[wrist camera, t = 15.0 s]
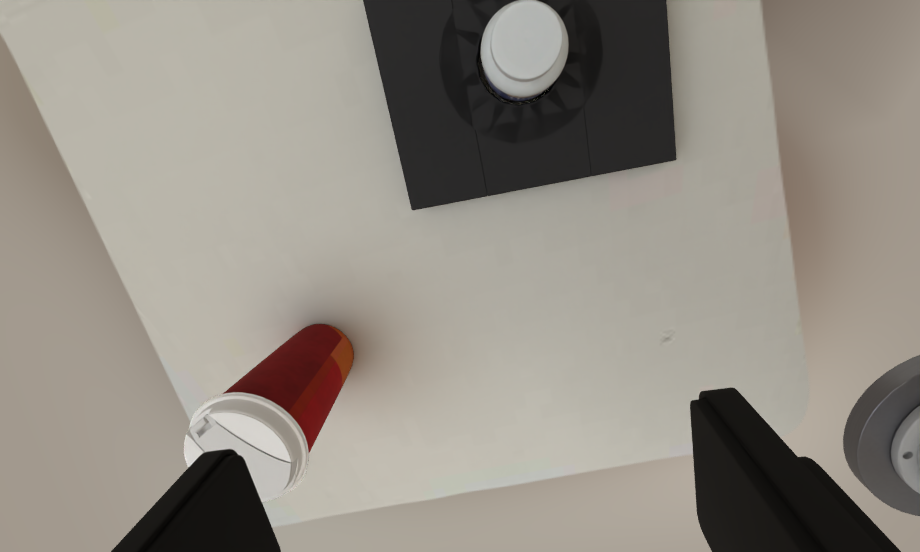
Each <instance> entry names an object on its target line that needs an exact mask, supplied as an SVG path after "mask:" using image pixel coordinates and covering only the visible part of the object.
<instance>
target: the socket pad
mask: <svg viewBox="0 0 920 552" xmlns="http://www.w3.org/2000/svg"><path fill="white" fill-rule="evenodd" d="M514 1H518V0H363V2H364V6H365V10H366V14H367V19H368V23H369V27H370V32H371V36H372V40H373V45H374V49H375V53H376V57H377V62H378V66H379V70H380V75H381V79H382V83H383V88H384V92H385V96H386V100H387V105H388V109H389V113H390V118H391V122H392V126H393V131H394V135H395V139H396V143H397V148H398V152H399V156H400V161H401V165H402V169H403V174H404V178H405V182H406V186H407V191H408V195H409V199H410V204H411V208H412V210H417V209H422V208H427V207H433V206H438V205H443V204H448V203H453V202H459V201H464V200H469V199H474V198H480V197H485V196H487V195H488V196H490V195H496V194H501V193H506V192H511V191H516V190H522V189H527V188H532V187H537V186H543V185H548V184H553V183H558V182H564V181H569V180H574V179H579V178H585V177H590V176H595V175H600V174H606V173H611V172H616V171H621V170H626V169H632V168H637V167H642V166H647V165H653V164H658V163H663V162H668V161H674V160H676V146H675V131H674V115H673V99H672V83H671V67H670V52H669V36H668V20H667V4H666V0H537V1H540V2H543V3H545V4H547V5H548V6H550V7H551V8H552V9H554V10H555V11H556V12H557V14H558V15H559V16H560V18H561V19H562V21H563V23H564V25H565V28H566V31H567V35H568V43H569V47H568V55H567V60H566V63H565V66H564V68H563V70H562V72H561V74H560V75H559V77H558V78H557V79H556V80H555V82H554V83H553V85H552V86H551V88H550V89H549V91H548V92H547V94H545V95H544V96H542V97H541V98H539V99H538V100H537V101H535V102H531V103H527V104H522V105H514V104H509V103H504V102H501V101H500V100H498V99H497V98H496V97H494V96H493V95H491V94H490V93H489V92H488V91H487V89H486V88H485V86H484V84H483V83H482V81H481V79H480V74H479V68H478V61H479V55H480V50H481V41H482V37H483V33H484V31H485V28H486V26H487V24H488V23H489V21H490V20H491V18H492V17H493V16H494V15H495V14H496V13H497V12H498V11H499V10H500V9H501V8H503V7H504V6H506V5H508V4H510V3H512V2H514Z"/></svg>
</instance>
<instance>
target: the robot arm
mask: <svg viewBox="0 0 920 552" xmlns="http://www.w3.org/2000/svg"><path fill="white" fill-rule="evenodd" d="M690 411H691V427H692V442H693V457H694V472H695V488H696V504H697V515H698V520H699V523H700V527H701V529H702V532H703V534H704V536H705V538H706V540H707V542H708V544H709V546H710V548H711V550H712V552H901V551H900V550H899V549H898V548H897V547H896V546H895V545H894V544H893V543H892V542H891V541H890V540H889V539H888V538H887V536H886V535H885V534H884V533H883V532H882V531H881V530H880V529H879V528H878V527H877V526H876V525H875V524H874V523H873V522H872V520H871V519H870V518H869V517H868V516H867V515H866V514H865V513H864V512H863V511H862V510H861V509H860V508H859V507H858V506H857V505H856V504H855V503H854V501H853V500H852V499H851V498H850V497H849V496H848V495H847V494H846V493H845V492H844V491H843V490H842V489H841V488H840V487H839V486H838V485H837V484H836V483H835V481H834V480H833V479H832V478H831V477H830V476H829V475H828V474H827V473H826V472H825V471H824V470H823V469H822V468H821V467H820V466H819V465H818V464H817V463H816V462H815V461H813V460H812V459H810V458H808V457H797V456H796V455H795V454H794V452H793V451H792V450H791V449H790V448H789V447H788V446H787V445H786V444H785V443H784V442H783V440H782V439H781V438H780V437H779V436H778V435H777V434H776V433H775V431H774V430H773V429H772V428H771V427H770V426H769V425H768V424H767V423H766V422H765V420H764V419H763V418H762V417H761V416H760V415H759V414H758V413H757V412H756V410H755V409H754V408H753V407H752V406H751V405H750V404H749V403H748V402H747V401H746V399H745V398H744V397H743V396H742V395H741V394H740V393H739V392H738V391H737V390H736V389H735V388H725V389H717V390H708V391H702V392H700V395H699V400H692V401H691V404H690ZM891 459H892V464H893V466H894V469H895V471H896V473H897V474H898V475H899V477H900V478H901V479H902V480H903V481H904V482H905V483H906V484H907V485H908V486H910V487H911V488H912V489H913V490H915V491H916V492H918V493H919V494H920V406H918V407H917V408H916V409H915V410H913V411H912V412H911V413H910V414H909V415H908V416H907V417H906V419H905V420H904V421H903V422H902V424H901V425H900V427H899V428H898V430H897V431H896V434H895V437H894V439H893V442H892V448H891ZM111 552H281V550H280V547H279V544H278V542H277V539H276V537H275V534H274V532H273V529H272V527H271V524H270V522H269V519H268V517H267V514H266V512H265V509H264V507H263V504H262V502H261V499H260V497H259V494H258V492H257V489H256V487H255V484H254V482H253V480H252V477H251V475H250V472H249V470H248V467H247V465H246V462H245V460H244V458H243V457H242V456H241V455H238V454H237V452H236V451H234V450H233V449H224V450H216V451H208V452H205V453H203V454H201V455H200V456H199V457H198V458H197V459H196V460H195V461H194V462H193V463H192V465H191V466H190V467H189V468H188V469H187V470H186V471H185V472H184V473H183V474H182V475H181V476H180V478H179V479H178V480H177V481H176V482H175V483H174V484H173V485H172V486H171V487H170V489H168V491H167V492H166V493H165V494H164V495H163V496H162V497H161V498H160V499H159V500H158V502H156V504H155V505H154V506H153V507H152V508H151V509H150V510H149V511H148V512H147V513H146V514H145V515H144V517H143V518H142V519H141V520H140V521H139V522H138V523H137V524H136V526H134V528H132V530H131V531H130V532H129V533H128V534H127V535H126V536H125V537H124V538H123V539H122V540H121V542H120V543H119V544H118V545H117V546H116V547H115V548H114V549H113V550H112V551H111Z"/></svg>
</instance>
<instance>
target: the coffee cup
mask: <svg viewBox="0 0 920 552" xmlns="http://www.w3.org/2000/svg"><path fill="white" fill-rule="evenodd" d="M353 359H354V353H353V348H352V345H351V343H350V341H349V340H348V338H347V337H346V336H345V335H344V334H343V333H342V332H341V331H340V330H338V329H336V328H334V327H332V326H329V325H325V324H314V325H310V326H308V327H306V328H304V329H302V330H301V331H299V332H298V333H297V334H295V335H294V336H293V337H291V338H290V339H289V340H288V341H286V342H285V343H284V344H283V345H281V346H280V347H279V348H278V349H277V350H275V351H274V352H273V353H272V354H270V355H269V356H268V357H267V358H266V359H264V360H263V361H262V362H261V363H259V364H258V365H257V366H256V367H255V368H253V369H252V370H251V371H250V372H249V373H247V374H246V375H245V376H244V377H242V378H241V379H240V380H239V381H238V382H236V383H235V384H234V385H233V386H232V387H230V388H229V389H228V390H227V391H226V392H224V393H223V394H221V395H217V396H215V397H213V398H210V399H209V400H207V401H206V402H204V403H203V404H202V405H201V406H200V407H199V408H198V409H197V410H196V412H195V414H194V415H193V417H192V420H191V423H190V426H189V430H188V431H187V434H186V437H185V441H184V456H185V460H186V463H187V465H188V468H189V467H190V466H191V465H192V463H193V462H194V461H195V460H196V459H197V458H198V457H199V456H200V455H201V454H203V453H205V452H208V451H216V450H224V449H233V450H234V451H236V452H237V454H238V455H241V456H242V457H243V458H244V460H245V462H246V465H247V467H248V470H249V472H250V475H251V477H252V480H253V482H254V484H255V487H256V489H257V492H258V494H259V497H260V499H261V502H262V503H264V502H267V501H269V500H273V499H277V498H279V497H281V496H283V495H284V494H285V493H288V492H289V491H291V490H293V489H294V488H295V487H297V486H298V485H299V484H300V483H301V481H302V480H303V479H304V477H305V474H306V469H307V465H308V461H309V452H310V450H311V448H312V446H313V444H314V442H315V440H316V438H317V436H318V434H319V432H320V430H321V428H322V426H323V424H324V422H325V420H326V418H327V416H328V414H329V412H330V410H331V408H332V406H333V404H334V402H335V400H336V398H337V396H338V394H339V392H340V390H341V388H342V386H343V384H344V382H345V380H346V378H347V376H348V373H349V371H350V369H351V366H352V363H353Z"/></svg>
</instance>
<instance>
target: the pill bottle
mask: <svg viewBox="0 0 920 552" xmlns="http://www.w3.org/2000/svg"><path fill="white" fill-rule="evenodd" d="M568 47H569V43H568V35H567V31H566V28H565V25H564V23H563V21H562V19H561V18H560V16H559V15H558V14H557V12H556V11H555V10H554V9H552V8H551V7H550V6H548V5H547V4H545V3H543V2H540V1H537V0H518V1H514V2H512V3H510V4H508V5H506V6H504V7H503V8H501V9H500V10H499V11H498V12H497V13H496V14H495V15H494V16H493V17H492V18H491V20H490V21H489V23H488V24H487V26H486V28H485V31H484V33H483V37H482V41H481V61H482V65H483V69H484V73H485V76H486V79H487V81H488V83H489V85H490V87H491V88H492V89H493V90H494V92H495V93H497V94H498V95H499V96H500V97H502V98H504V99H506V100H509V101H514V102H522V101H527V100H530V99H533V98H535V97H537V96H538V95H540V94H541V93H542V92H544V91H545V90H546V89H547V88H548V87H550V86H551V85H552V84H553V83H554V82H555V80H556V79H557V78H558V77H559V75H560V74H561V72H562V70H563V68H564V66H565V63H566V60H567V55H568Z"/></svg>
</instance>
